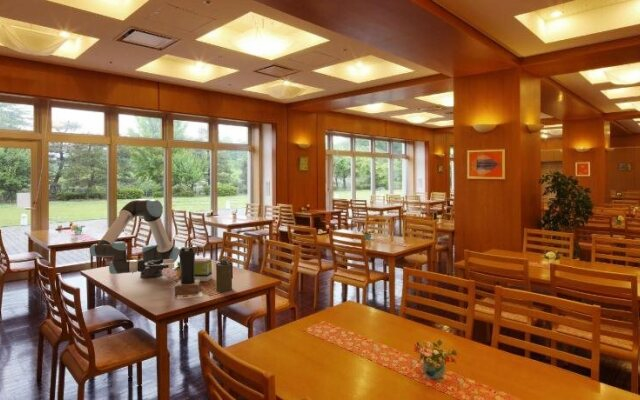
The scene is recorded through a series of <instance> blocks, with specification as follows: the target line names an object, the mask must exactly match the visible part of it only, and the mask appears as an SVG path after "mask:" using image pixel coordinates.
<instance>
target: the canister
mask: <svg viewBox="0 0 640 400" xmlns="http://www.w3.org/2000/svg"><path fill="white" fill-rule="evenodd" d="M215 268H216V270H215V271H216V272H215V273H216V275H215V276H216V278H215V279H216V281H215V282H216V292H218V293H226V292H227V293H228V292H230V291H232V290H233V279H234V276H233V274H234V272H233V270H234V269H233V268H234V267H233V262H232V261H228V260H227V259H224V258H223V259H219V262H216V263H215Z"/></svg>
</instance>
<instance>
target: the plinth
mask: <svg viewBox="0 0 640 400" xmlns="http://www.w3.org/2000/svg"><path fill="white" fill-rule="evenodd" d="M201 282H202V281H200V279H198V280H195V282H194V283H192V284H181V279H180V280H177V282H176V284H175V286H174V296H175V297H177V295H194V294H198V293H199V292H201V286H202V285H201Z"/></svg>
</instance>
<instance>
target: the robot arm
mask: <svg viewBox="0 0 640 400" xmlns="http://www.w3.org/2000/svg"><path fill="white" fill-rule="evenodd" d="M163 212H164V206H163V204H162V202H161V201H160V200H158V199H151V198H150V199H140V198H137V199H133V200H130V201H129V202H128V203H126V204H125V205H124V206H123V207H122V208H121V209H120V211H119V213H118V216H117V217H116V219H115V220H114V221H113V222H112V224H111V225H110V227H109V228H108V229H107V231H106V232H105V234H104V235H103V236H102V238H101V239H100V240H99V241H98V243H94V244H92V245H91V246H90V248H89V254H90V255H91V256H93V257H97V258H98V257H102V258H105V257H106V258H112V261H110V262H109V265H108V271H109V274H111V275H120V274H129V273H130V274H134V273H137V272H138V273H140V275H139V276H140V278H144V279H152V278H158V277H161V276H162V275H163V270H164V269H175V262H176V261H177V260H178V258H179V252H180V250H179V248H178V246H174V244H173V242H171V241H170V239H169V236H168V234H167V232H166V229H165V226H164V223H163V221H162V218H161V217H162V215H163ZM136 217H142V218H143V220H144V222H147V224H148V226H149V228H150V231H151V233H152V236H153V238H154V241H155V242H156V243H153V244H148V245H145V246H143V247H142V249H141V251H142V252H141V253H142V255H141V257H142V259H138V260H137V259H132V260H131V259H130V260H128V259H127V244H126V241H121V240H120V241H119V240H117V239H118V238H119V237H120V236H121V234H122V233H123V231H124V230H125V228H127V226H128V224H129V223H130V221H132V220H134V218H136Z"/></svg>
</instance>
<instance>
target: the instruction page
mask: <svg viewBox="0 0 640 400" xmlns="http://www.w3.org/2000/svg"><path fill="white" fill-rule="evenodd" d="M202 297H203V292H202V291H199V293H198V294H194V295H177V296H176V299H177V300H181V299H191V298H193V299H194V298H202Z"/></svg>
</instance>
